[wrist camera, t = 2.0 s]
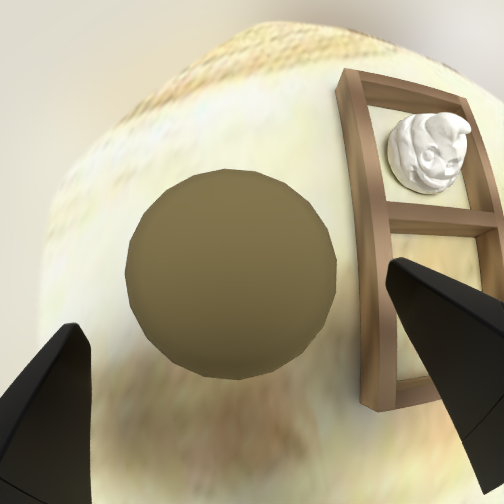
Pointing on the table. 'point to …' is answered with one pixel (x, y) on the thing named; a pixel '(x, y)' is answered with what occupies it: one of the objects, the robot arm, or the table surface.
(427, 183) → the white lumpy round figurine
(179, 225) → the cork
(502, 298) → the crate
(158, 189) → the table surface
